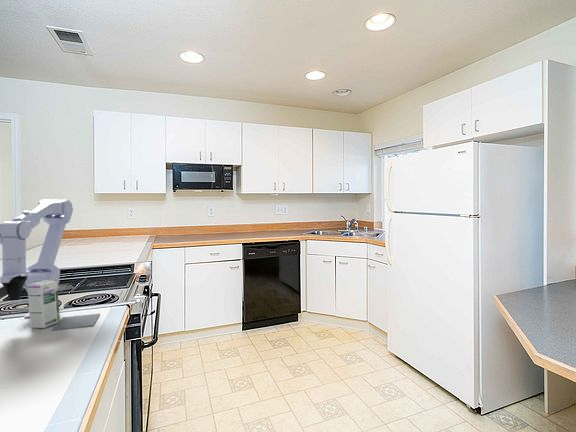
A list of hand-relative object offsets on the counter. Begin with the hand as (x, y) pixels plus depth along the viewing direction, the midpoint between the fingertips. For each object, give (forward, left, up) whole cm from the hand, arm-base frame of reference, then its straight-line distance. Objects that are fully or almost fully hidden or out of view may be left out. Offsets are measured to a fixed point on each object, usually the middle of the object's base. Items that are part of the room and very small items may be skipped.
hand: (14, 299), depth 101 cm
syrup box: (0, +8, -9) cm, 12 cm away
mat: (0, +17, -9) cm, 20 cm away
